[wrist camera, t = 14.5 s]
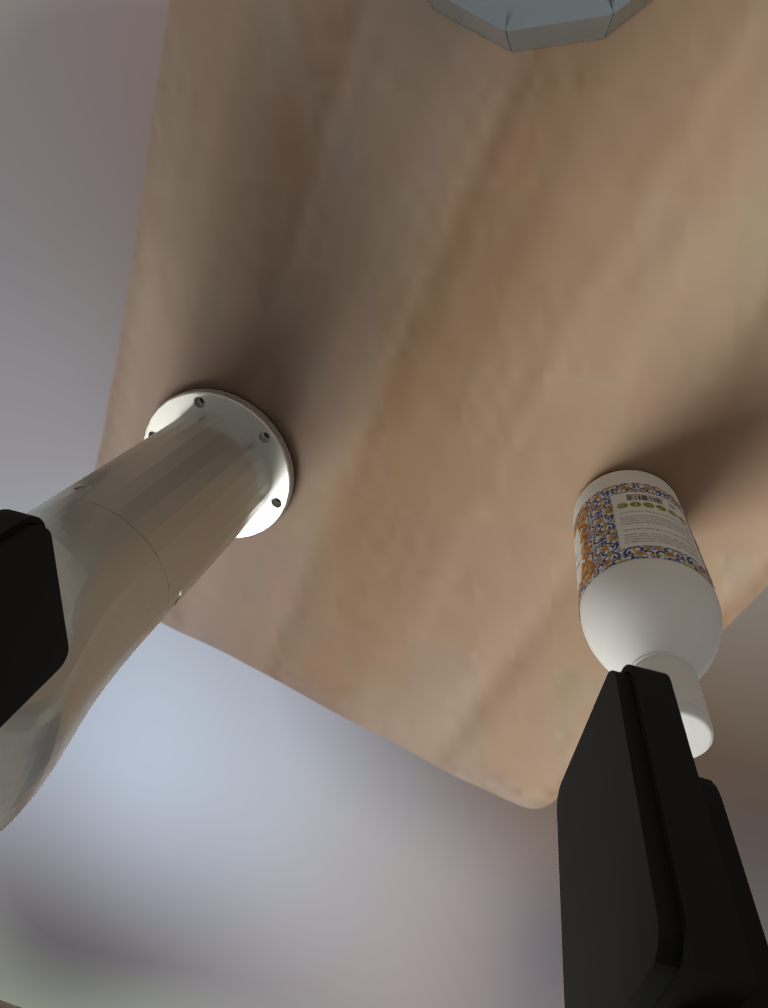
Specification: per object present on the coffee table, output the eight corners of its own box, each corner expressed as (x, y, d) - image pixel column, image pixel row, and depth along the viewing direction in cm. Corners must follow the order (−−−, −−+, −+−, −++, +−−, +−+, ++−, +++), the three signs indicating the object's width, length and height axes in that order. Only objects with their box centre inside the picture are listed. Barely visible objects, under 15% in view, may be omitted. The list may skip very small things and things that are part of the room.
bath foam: (565, 476, 42) (575, 677, 25) (673, 458, 39) (767, 667, 22) (581, 559, 45) (599, 794, 27) (683, 547, 42) (774, 796, 25)
